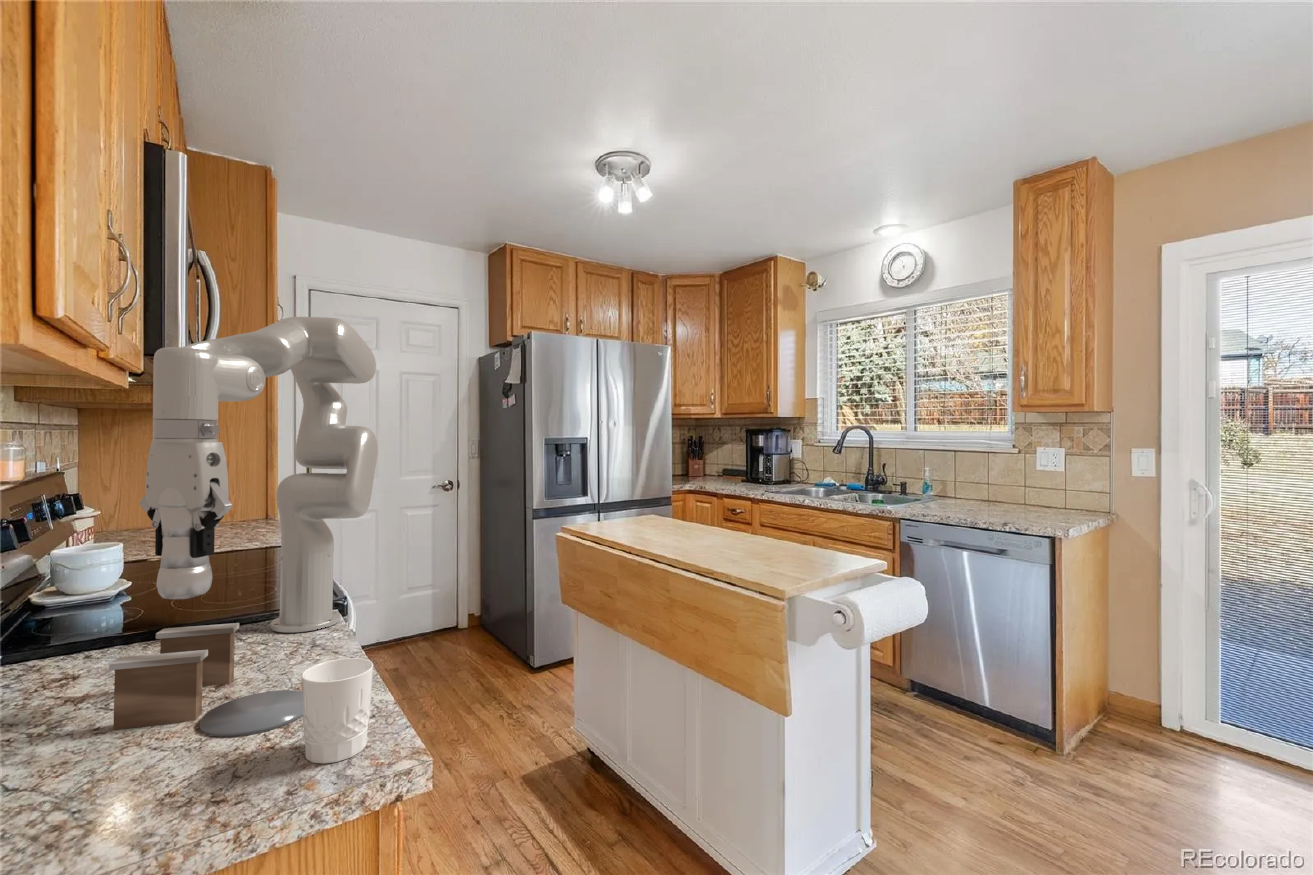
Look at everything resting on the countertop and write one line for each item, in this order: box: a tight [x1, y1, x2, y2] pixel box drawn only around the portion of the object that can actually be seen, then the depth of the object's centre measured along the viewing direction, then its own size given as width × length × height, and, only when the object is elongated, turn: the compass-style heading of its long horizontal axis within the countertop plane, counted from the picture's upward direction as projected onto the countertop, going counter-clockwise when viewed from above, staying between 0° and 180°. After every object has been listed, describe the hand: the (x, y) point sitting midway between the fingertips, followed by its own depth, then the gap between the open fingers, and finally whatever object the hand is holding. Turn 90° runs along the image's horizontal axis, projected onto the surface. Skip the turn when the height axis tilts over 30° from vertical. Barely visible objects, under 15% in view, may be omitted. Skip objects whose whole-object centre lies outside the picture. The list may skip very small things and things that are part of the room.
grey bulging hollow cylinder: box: [155, 488, 213, 600], centre depth 86 cm, size 6×7×20 cm
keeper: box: [108, 622, 240, 731], centre depth 86 cm, size 16×10×9 cm, turn 20°
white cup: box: [301, 657, 374, 765], centre depth 73 cm, size 8×8×10 cm
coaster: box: [199, 689, 303, 738], centre depth 82 cm, size 13×13×1 cm
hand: (185, 553), depth 86 cm, fingers closed on grey bulging hollow cylinder, 5 cm apart
